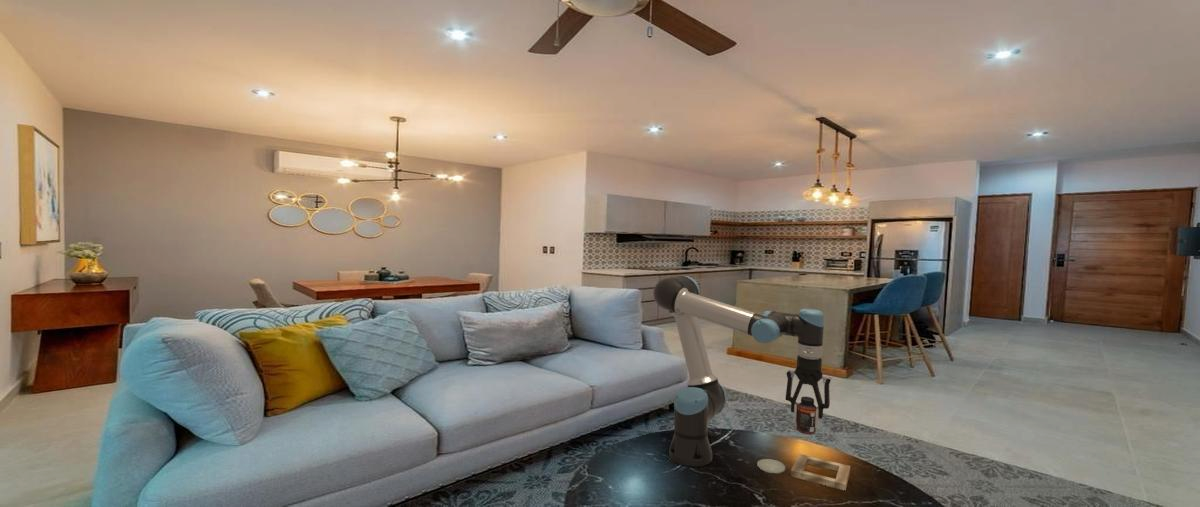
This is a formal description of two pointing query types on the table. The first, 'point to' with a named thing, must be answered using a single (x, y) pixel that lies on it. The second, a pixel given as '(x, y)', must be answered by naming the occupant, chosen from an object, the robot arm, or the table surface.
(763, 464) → the cream flat disc
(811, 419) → the supplement bottle
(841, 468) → the oak holder
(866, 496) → the table surface
